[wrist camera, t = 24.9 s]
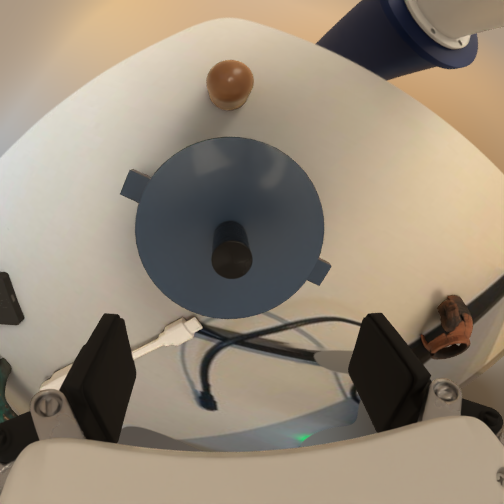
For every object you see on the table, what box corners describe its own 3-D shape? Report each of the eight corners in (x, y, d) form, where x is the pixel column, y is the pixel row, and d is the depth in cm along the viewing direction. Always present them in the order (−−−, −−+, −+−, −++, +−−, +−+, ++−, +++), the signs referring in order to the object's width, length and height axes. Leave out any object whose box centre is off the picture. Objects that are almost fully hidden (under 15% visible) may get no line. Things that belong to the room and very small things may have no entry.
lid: (186, 106, 22) (172, 91, 15) (351, 193, 26) (387, 209, 19) (116, 271, 26) (90, 306, 20) (266, 333, 30) (276, 377, 24)
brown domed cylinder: (220, 68, 25) (220, 46, 19) (255, 84, 26) (264, 67, 20) (202, 100, 26) (195, 86, 20) (237, 116, 27) (241, 107, 21)
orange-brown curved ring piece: (465, 310, 41) (475, 351, 35) (420, 325, 45) (426, 366, 40) (465, 274, 34) (480, 323, 29) (410, 293, 39) (418, 343, 33)
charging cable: (209, 329, 36) (210, 344, 33) (62, 397, 38) (56, 410, 35) (187, 299, 35) (185, 314, 32) (42, 377, 36) (35, 390, 33)
